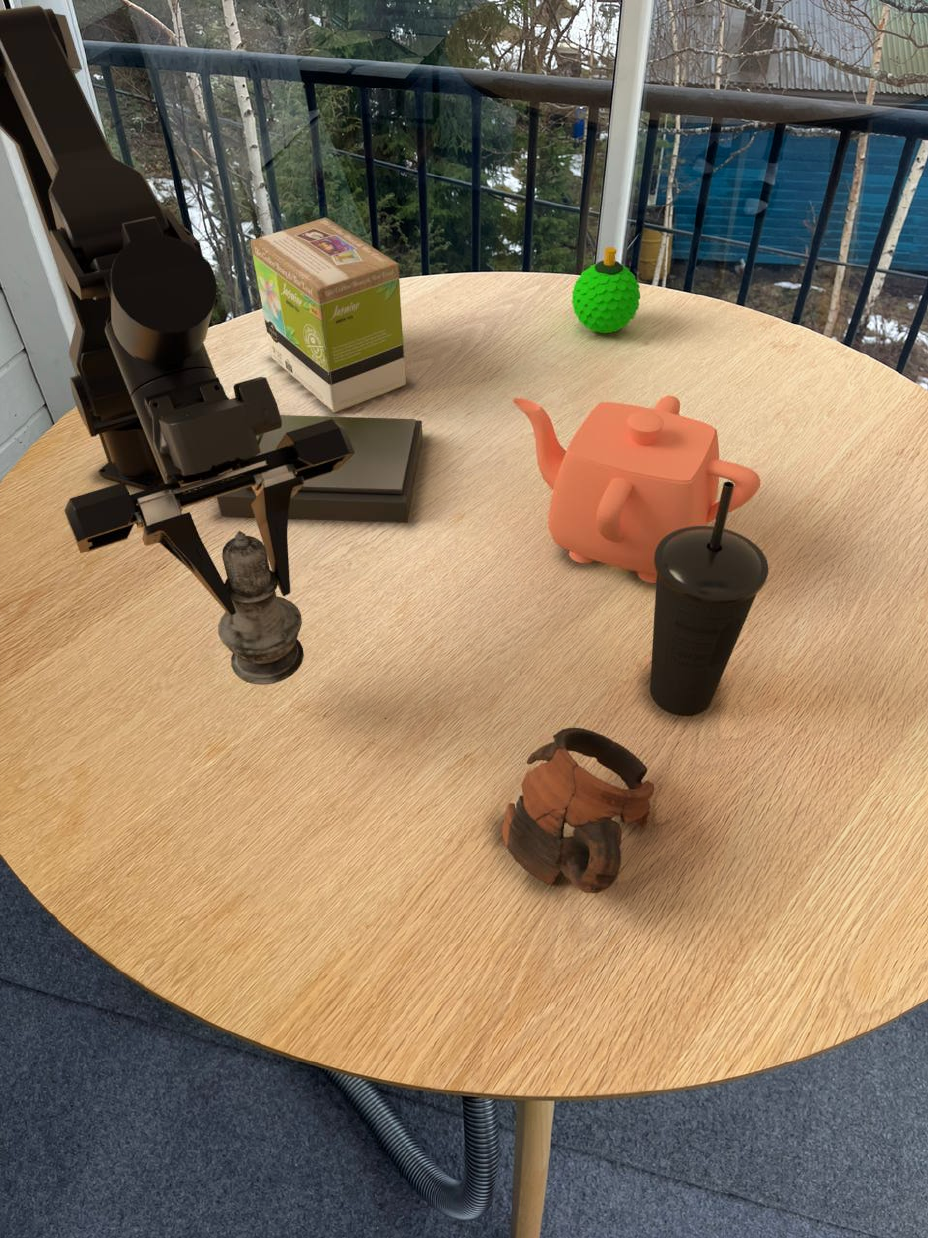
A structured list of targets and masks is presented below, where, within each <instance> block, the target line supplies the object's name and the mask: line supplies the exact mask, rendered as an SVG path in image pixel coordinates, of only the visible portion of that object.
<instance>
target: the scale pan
mask: <svg viewBox="0 0 928 1238" xmlns="http://www.w3.org/2000/svg"><path fill="white" fill-rule="evenodd" d="M280 416H281V420H282V426H281V428H279V429H276V430H273V431H269V432H266V433H264V435H263V437H262V440H261V442H260V445H259V448H260V451H261V452H260V453H259V454H258V455H261V454H264V453H267V452H270V451H273V450H276V447H277V446H278V444H279V443H280V441H281V440H282V438H283V437H284V435H285V434H286V433H287V432H290V431H293V430H297V429H300V428H303V427H306V426H310V425H313V424H316V423H320V422H323V421H326V420H329V419H333V420H334V421H336V422H337V423H339V424H341V425H342V426H343V427H344V429H345V430H346V431H347V434H348V436H349V439H350V441H351V444H352V447H353V449H354V452H355V454H354V455H353V456H352V457H350V458H349V459H348V460H347V461H346V462H345V463H344V464H343V465H342V466H341V467H340V468H339V469H338V470H336V471H333V472H331V473H329V474H326V475H323V476H319V477H316V478H313V479H310V480H307V481H304V485H303V486H302V487H301V489H300V490H299V491H329V492H358V493H387V494H402V492H403V487H404V481H405V476H406V471H407V466H408V461H409V456H410V451H411V446H412V440H413V435H414V430H415V425H416V420H417V419H416V418H395V417H394V418H393V417H363V416H330V415H329V416H327V415H326V416H325V415H324V416H323V415H297V414H296V415H295V414H292V415H291V414H280ZM256 456H257V455H256ZM245 489H253V488H252V486H250V487H247V488H245Z"/></svg>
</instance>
